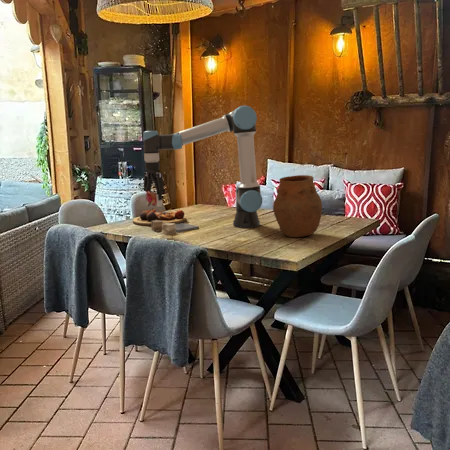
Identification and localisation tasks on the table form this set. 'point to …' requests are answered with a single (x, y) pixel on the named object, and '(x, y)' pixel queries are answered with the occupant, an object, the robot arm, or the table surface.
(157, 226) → the walnut block
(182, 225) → the slate mat
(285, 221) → the pot
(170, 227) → the beech block
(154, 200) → the flower
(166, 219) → the wooden plate with food
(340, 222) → the table surface
